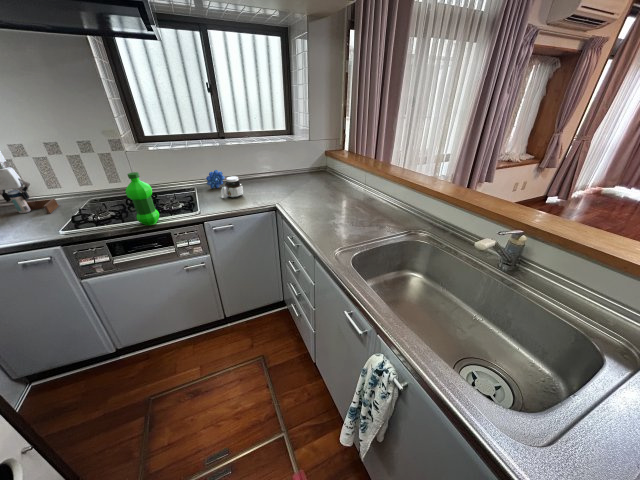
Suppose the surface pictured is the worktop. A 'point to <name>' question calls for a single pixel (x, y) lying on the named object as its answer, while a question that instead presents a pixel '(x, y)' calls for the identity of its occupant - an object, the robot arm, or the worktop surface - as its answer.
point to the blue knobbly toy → (215, 179)
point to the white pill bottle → (19, 201)
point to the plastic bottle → (142, 200)
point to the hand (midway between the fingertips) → (18, 199)
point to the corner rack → (43, 205)
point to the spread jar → (232, 188)
